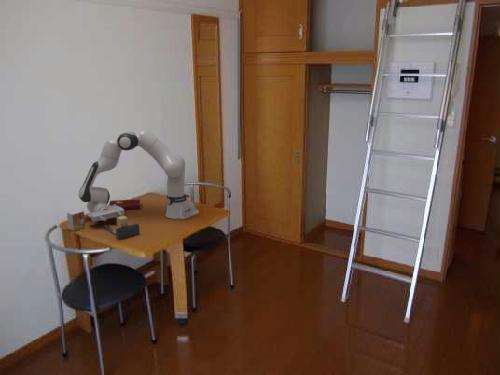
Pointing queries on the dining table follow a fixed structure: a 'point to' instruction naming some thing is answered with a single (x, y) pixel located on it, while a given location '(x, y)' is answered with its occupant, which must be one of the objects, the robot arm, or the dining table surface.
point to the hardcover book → (127, 204)
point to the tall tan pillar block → (122, 221)
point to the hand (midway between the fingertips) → (113, 217)
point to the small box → (76, 220)
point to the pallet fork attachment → (124, 231)
